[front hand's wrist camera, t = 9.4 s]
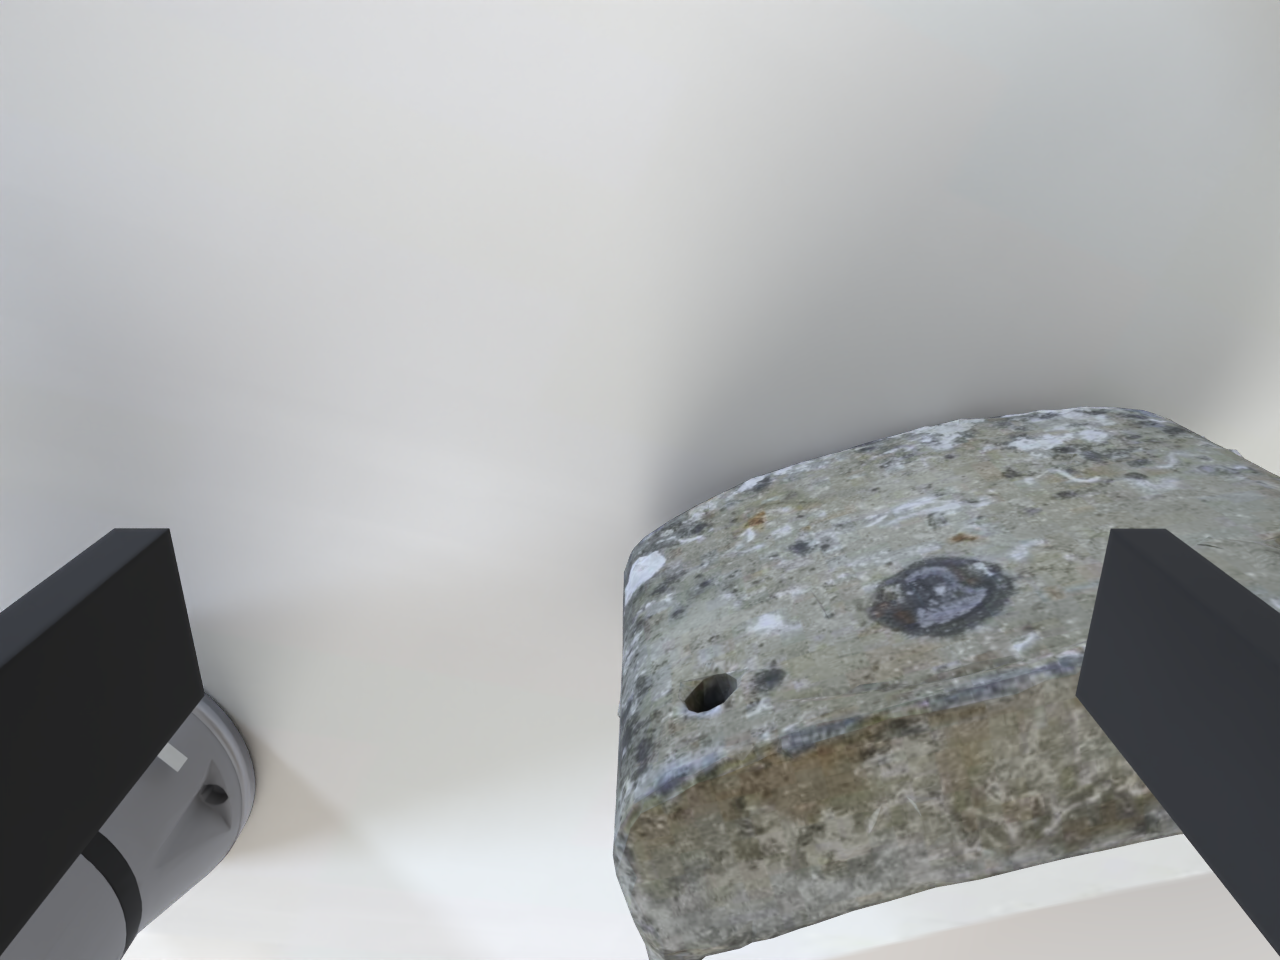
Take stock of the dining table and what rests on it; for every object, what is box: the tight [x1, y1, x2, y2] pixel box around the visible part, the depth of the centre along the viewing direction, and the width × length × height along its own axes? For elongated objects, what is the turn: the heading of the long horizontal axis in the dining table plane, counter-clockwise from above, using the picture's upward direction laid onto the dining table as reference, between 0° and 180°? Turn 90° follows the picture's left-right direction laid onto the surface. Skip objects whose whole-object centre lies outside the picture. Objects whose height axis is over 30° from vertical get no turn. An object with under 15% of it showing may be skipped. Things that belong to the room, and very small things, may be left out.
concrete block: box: [613, 407, 1280, 960], centre depth 34 cm, size 27×9×20 cm, turn 105°
